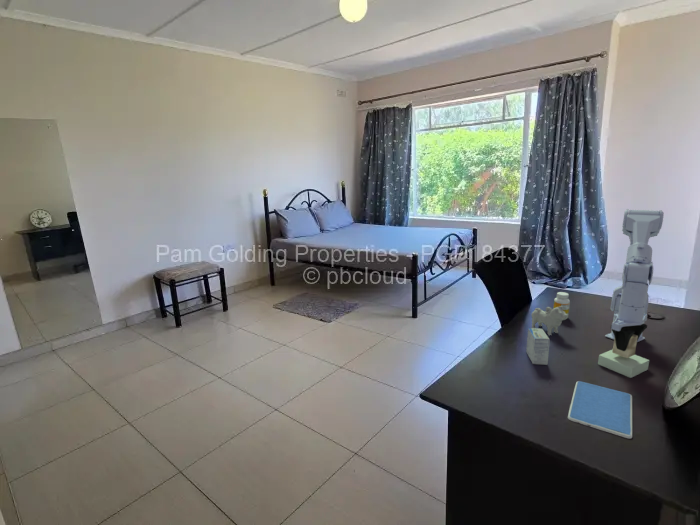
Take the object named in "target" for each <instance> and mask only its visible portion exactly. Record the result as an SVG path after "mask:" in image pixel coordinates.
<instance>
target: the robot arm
mask: <svg viewBox="0 0 700 525" xmlns="http://www.w3.org/2000/svg"><path fill="white" fill-rule="evenodd" d="M622 221H623V222H622V230H621V231H622V234H623V235H625V236H628V238H629V242H630V243H629V246H628V247H627V250H626V251H627V252H626V260H625V263H624V264H623V268H622V269H623V270H622V277H621V279H622V281H621V282H622V285H619V286H617V287H615V288H614V290H613V293H612V295H611V296H612V297H611V303H610V309H609V310H611V312H614V313H613V320H612V323H611V324H610V330H611V332H610V333H607V334H605V335H604V336H605V337H606V338H609V339H612V340H614V338H615V341H616V347H617V349H619V350H622V351H626V349H627V346H628V343H629V340H630V338H631V337H632V335H633V334H634V335H637V336H638V338H637V343H638V342H640V341H643V340H646V338H645V336H643V333H644V331H645V330H646V329H648V325H647V324H645V322H646V321H647V320H648V314H647V313H648V308H649V298H650V296H649V295H650V294H649V293H648V290H649V286H650V285H651V283H652V281H653V277H654V276H653V275H654V263H653V261H652V258H653V248H652V247H651V245H649V242H650V241H649V240H650V239H651V238H654V237H657V236H658V234H660V231H661V229H662V227H663V222H664V211H663V210H649V209H648V210H646V209H645V210H644V209H643V210H642V209H628V208H627V209H626V210H624V214H623V220H622Z"/></svg>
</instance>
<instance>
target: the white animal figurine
mask: <svg viewBox="0 0 700 525" xmlns="http://www.w3.org/2000/svg"><path fill="white" fill-rule="evenodd" d="M562 308H563V307H562V306H560V307H556V308H554V309H553V308H552V307H550V306H547V307H545V310H543V309H542V308H540V307H535V309H534V311H532V312H531V328H537V327H536V323H537V324H538V327H541V326H542V327H543V325H545V326H546V328H547V329H546V330H547V334H548V335H547V334H546V335H547V336H550V335H551V336H553V335H552V332H555V334H559V331H558V330H559V328H558V327H561V324H562V322H563V321H565V320H567V319H568V318H569V314H566V313H565V312H564V311H563V310H562Z"/></svg>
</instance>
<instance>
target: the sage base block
mask: <svg viewBox="0 0 700 525" xmlns="http://www.w3.org/2000/svg"><path fill="white" fill-rule="evenodd" d="M612 351H613V348H612V349H610V350H608V351H605V352H603V353H600V354H599V355H598V358H597V359H598V361H597V365H599V366H601V367H603V368H607V369H608V370H611V371H613V372H616V373H618V374H621V375H623V376H625V377H626V378H630V379H631V378H633V377H634V378H635V377H636V376H637V375H640V374H642V373H643V372H645V371H647V370H649V364H650V359H647V358H645V357H642V356H640V355H637V354H635V355H633V356H631V357H628V358H625V357H623V356H620V355H617V354H615V353H612Z"/></svg>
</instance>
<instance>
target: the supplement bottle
mask: <svg viewBox="0 0 700 525" xmlns="http://www.w3.org/2000/svg"><path fill="white" fill-rule="evenodd" d="M569 296H570V295H569V293H568V292H563V291H559V292H557V293H556V297H555V298H554V299H553V300H554V301H553V308H552V309H554V308H556V307H560V306H562V307H563V308H562V310H563V311H564V312H565V313H566V314H568V315H569V314H570V306H571V305H570V304H571V301H570V299H569Z"/></svg>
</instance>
